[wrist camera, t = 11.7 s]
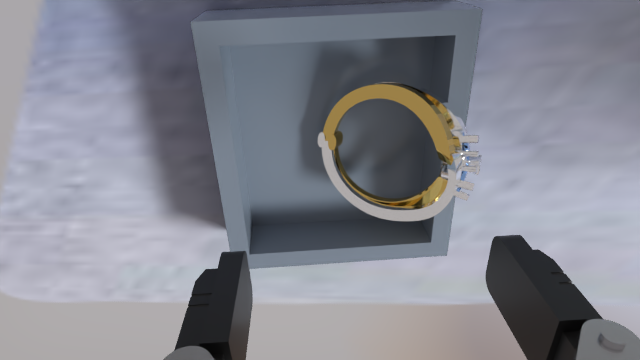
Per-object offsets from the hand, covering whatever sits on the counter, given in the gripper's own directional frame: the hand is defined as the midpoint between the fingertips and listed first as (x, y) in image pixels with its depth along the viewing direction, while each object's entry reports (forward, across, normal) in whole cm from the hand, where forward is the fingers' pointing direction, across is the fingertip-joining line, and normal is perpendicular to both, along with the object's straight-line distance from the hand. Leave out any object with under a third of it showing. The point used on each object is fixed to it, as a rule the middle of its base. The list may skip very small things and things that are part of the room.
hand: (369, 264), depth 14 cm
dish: (+11, 0, 0) cm, 11 cm away
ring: (+10, +1, 0) cm, 10 cm away
